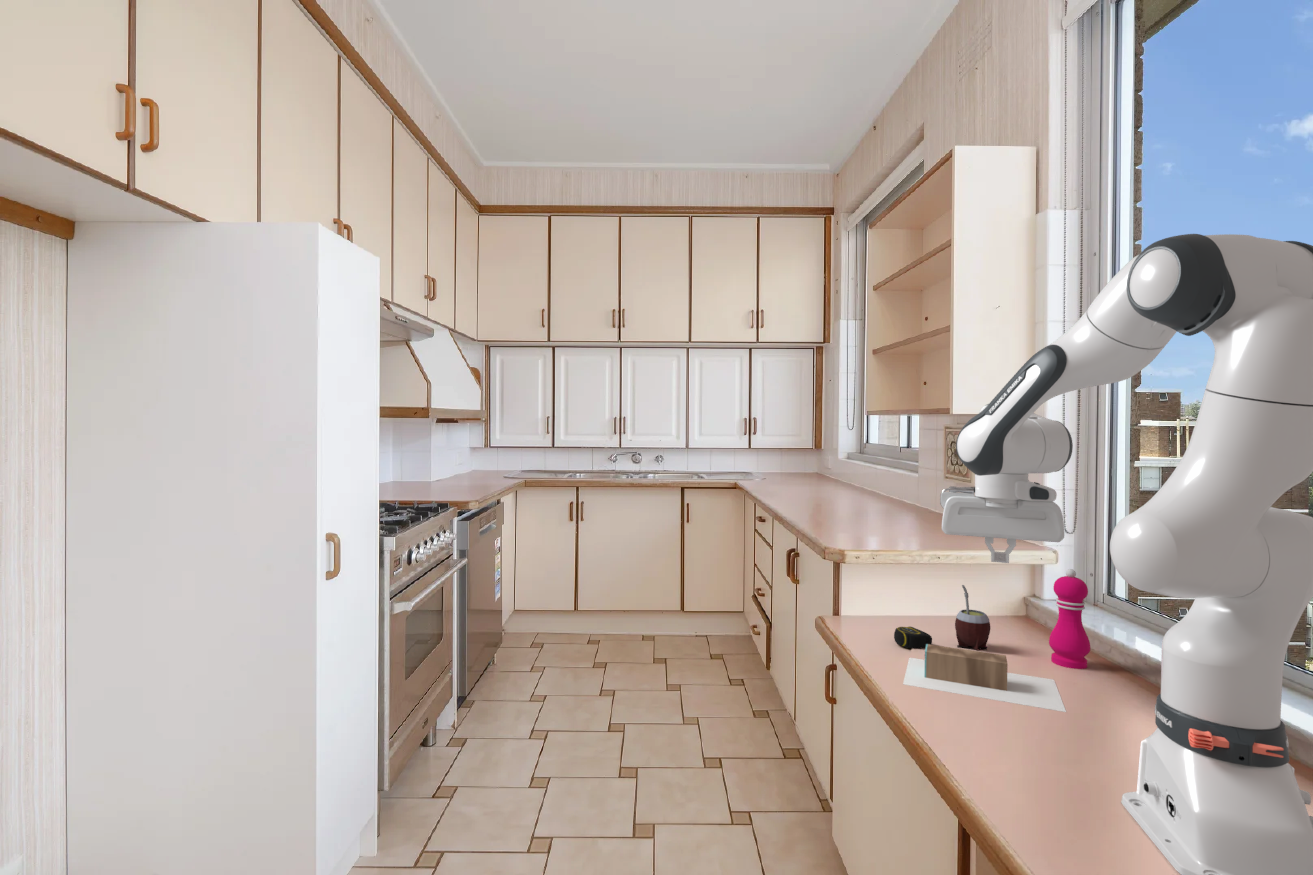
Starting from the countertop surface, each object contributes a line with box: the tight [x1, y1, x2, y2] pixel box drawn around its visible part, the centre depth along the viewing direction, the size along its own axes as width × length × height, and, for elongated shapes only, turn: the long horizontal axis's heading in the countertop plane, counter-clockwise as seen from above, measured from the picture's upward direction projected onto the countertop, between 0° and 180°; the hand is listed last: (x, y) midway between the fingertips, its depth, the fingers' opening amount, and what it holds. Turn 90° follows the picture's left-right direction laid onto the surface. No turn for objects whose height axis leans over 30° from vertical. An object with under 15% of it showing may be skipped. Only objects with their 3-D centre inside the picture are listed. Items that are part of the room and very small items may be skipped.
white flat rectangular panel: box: [902, 657, 1067, 713], centre depth 122 cm, size 16×26×1 cm, turn 65°
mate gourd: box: [954, 584, 991, 652], centre depth 142 cm, size 8×8×15 cm
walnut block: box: [924, 644, 1009, 691], centre depth 123 cm, size 5×5×14 cm
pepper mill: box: [1048, 568, 1091, 670], centre depth 132 cm, size 7×7×20 cm
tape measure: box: [893, 626, 933, 649], centre depth 144 cm, size 7×7×4 cm
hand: (999, 562), depth 120 cm, fingers closed
